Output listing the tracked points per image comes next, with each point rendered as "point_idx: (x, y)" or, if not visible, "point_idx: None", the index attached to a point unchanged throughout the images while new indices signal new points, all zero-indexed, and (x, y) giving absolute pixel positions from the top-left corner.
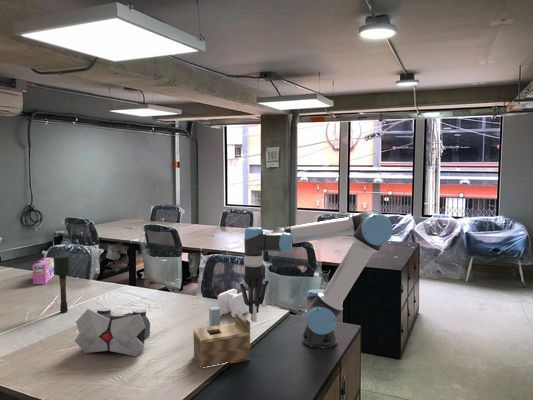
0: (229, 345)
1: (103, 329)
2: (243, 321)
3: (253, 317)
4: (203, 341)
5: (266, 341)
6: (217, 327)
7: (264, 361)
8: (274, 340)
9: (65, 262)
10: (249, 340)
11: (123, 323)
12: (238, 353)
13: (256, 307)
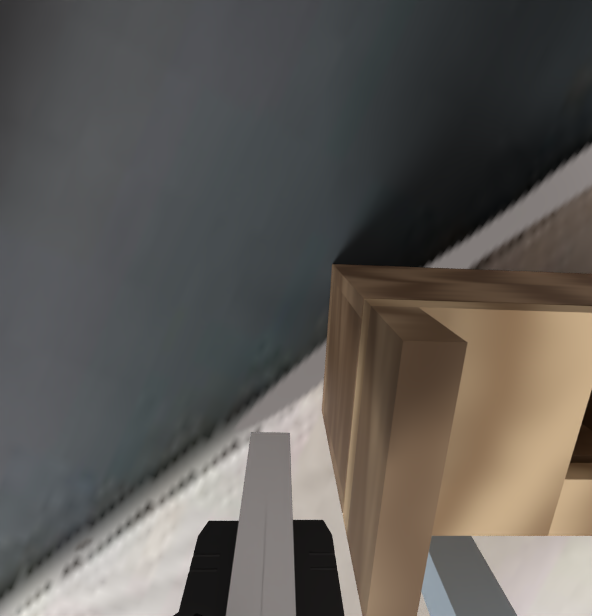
0: (513, 291)
1: None
2: (455, 403)
3: (288, 468)
4: None
5: (159, 425)
6: (558, 502)
7: (267, 210)
8: (112, 420)
9: None
10: (359, 288)
11: None
12: (417, 275)
13: (230, 597)
